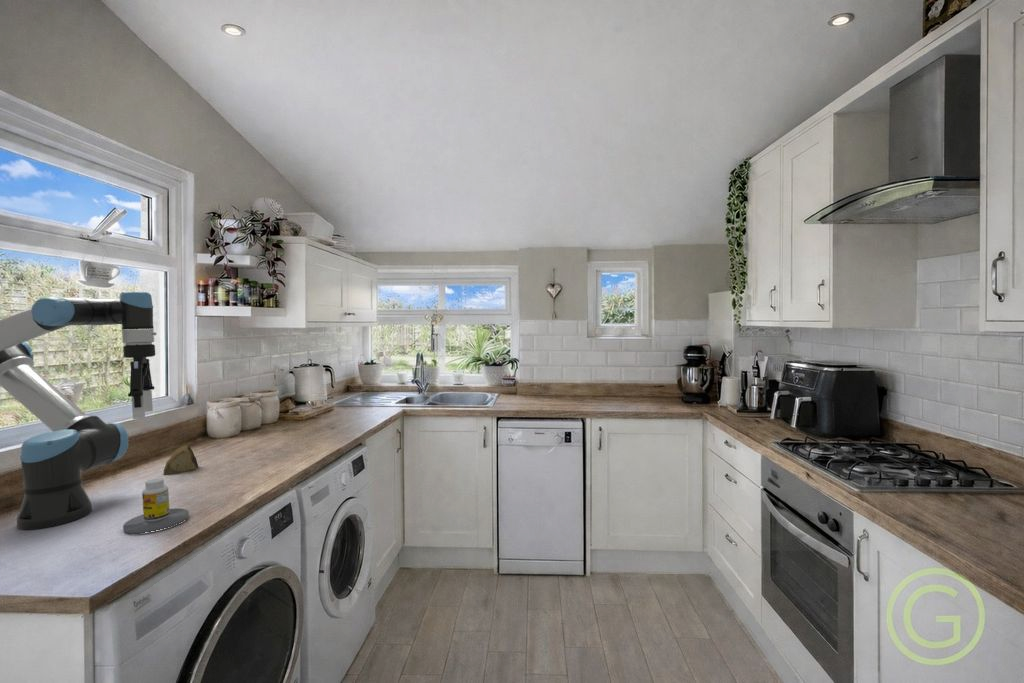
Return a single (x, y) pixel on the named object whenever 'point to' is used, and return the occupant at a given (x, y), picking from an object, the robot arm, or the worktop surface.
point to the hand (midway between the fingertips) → (143, 414)
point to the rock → (181, 461)
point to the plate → (142, 526)
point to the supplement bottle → (155, 500)
